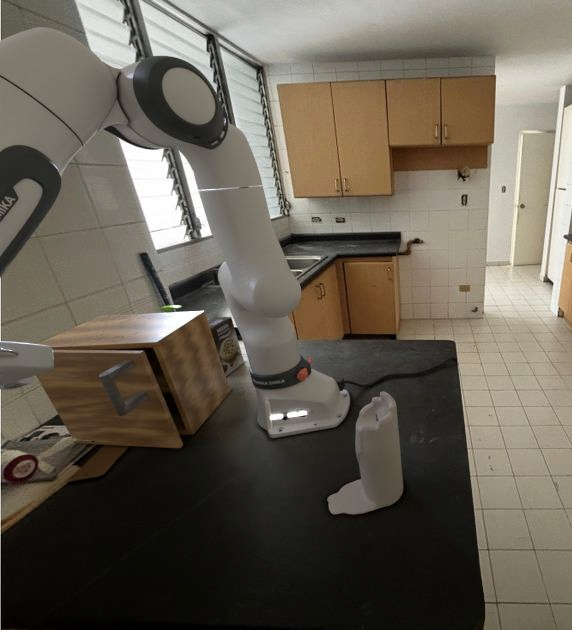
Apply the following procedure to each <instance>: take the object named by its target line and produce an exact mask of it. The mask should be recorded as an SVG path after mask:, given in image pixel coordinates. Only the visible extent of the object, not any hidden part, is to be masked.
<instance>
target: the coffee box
mask: <svg viewBox="0 0 572 630" xmlns="http://www.w3.org/2000/svg"><path fill="white" fill-rule="evenodd" d="M207 320H208V323H209V326H210V329H211V333H212V336H213V339H214V342H215V345H216V348H217V351H218V354H219V358H220V361H221V364H222V367H223V370H224V373H225V376H226V377H227V376H229V375H230V374H231V373H233V372H234V371H235V370H236V369H239V367H240V366H242V365H243V364H244V363H245V360H244V357H243V353H242V350H241V346H240V343H239V339H238V336H237V332H236V328H235V325H234V322H233V321H234V320H233V316H232V317H231V316H214V317H212V318H210V319H207Z"/></svg>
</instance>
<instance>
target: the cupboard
mask: <svg viewBox="0 0 572 630" xmlns="http://www.w3.org/2000/svg"><path fill="white" fill-rule="evenodd" d="M208 320H209V319H208V316H207V314H206V311H205V310H194V311H193V310H192V311H172V312H168V313H165V312H151V313H150V312H147V313H129V314H127V313H126V314H107V315H105V314H104V315H98V316H96V317H93V318H92V319H89V320H88V321H85V322H83V323H80V324H78V325H76V326H74V327H72V328H70V329H68V330H65V331H63V332H61V333H58V334H57V335H54V336H52V337H50V338H47V339H46V340H43V341H41V342H39V343H38V344H39V345H46V346H49V347H51V348H52V350H113V351H144V352H145V354H146V357H147V359H148V361H149V364H150V366H151V369H152V371H153V373H154V376H155V378H156V381H157V383H158V385H159V388H160V390H161V393H162V395H163V397H164V400H165V402H166V405H167V407H168V409H169V412H170V414H171V416H172V419H173V421H174V424H175V426H176V428H177V431H178V433H179V436H188V435H189V436H192V435H194V434H195V433H196V432H197V431H198V430H199V429H200V427H201V426H202V425H203V424H204V423H205V421H206V420H207V419H208V418H209V417H210V416H211V415H212V413H213V412H214V411H215V410H216V409H217V408H218V407H219V406H220V404H221V403H222V402H223V400H225V399H226V397H227V396H228V394H230V393H231V389H230V386H229V382H228V380H227V376H225V373H224V370H223V367H222V364H221V361H220V358H219V354H218V351H217V348H216V345H215V342H214V339H213V336H212V333H211V329H210V326H209V323H208Z"/></svg>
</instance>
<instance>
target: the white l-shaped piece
mask: <svg viewBox="0 0 572 630" xmlns="http://www.w3.org/2000/svg"><path fill="white" fill-rule="evenodd" d="M354 440H355V444H354V445H355V455H356V461H357V462H358V466H359V474H360V479H356V480H354V481H352V482H349V483H346V484H345V485H343V486H342V487H341V488H340V489H339V490H338V492H336V493H332V494H331V495H329V496H328V497H327V499H326V501H327V502H328V511H329V512H330V513H331V514H332V515H339V514H347V515H361V514H362V515H363V514H366V513H369V512H373V511H375V510H378V509H381V508H384V507H385V508H386V507H389V506H392V505H393V504H395V503H396V502H398V501H399V499H400V498H402V497H401V496H402V495H403V492H404V477H403V469H402V468H403V467H402V456H401V455H402V453H401V443H400V442H401V441H400V431H399V421H398V408H397V402H396V400H395V399H394V397H393V396H392V395H391V394H390V393H388V392H386V391H380V393H379V396H374V397H372V398H371V402H370V403H368V404H366V405H364V406H363V407H362V408H361V409H360V411H359V414H358V417H357V420H356V422H355V439H354Z"/></svg>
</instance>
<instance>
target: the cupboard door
mask: <svg viewBox="0 0 572 630" xmlns="http://www.w3.org/2000/svg"><path fill="white" fill-rule="evenodd" d="M53 354H54V368H53V370H51V371H49V372H46V373H42V374H39V375H36V378H37V380H38V381H39V383H40V385H41V387H42V389H43V391H44V392H45V394H46V395H47V397H48V399H49V400H50V402H51V404H52V406H53V407H54V409H55V411H56V413H57V414H58V417H59V418H60V420H61V421H62V423H63V425H64V427H65V428H66V430H67V432H68V433H69V435H70V437H71V438H72V439H73V438H76V439H83V440H91V441H74V440H73V442H74V444H81V445H99V446H100V445H104V446H121V447H122V446H124V447H142V448H143V447H145V448H164V449H165V448H166V449H181V448H183V446H184V443H183V440H182V438H181V435H179V433H178V431H177V428H176V426H175V424H174V421H173V419H172V416H171V414H170V412H169V409H168V407H167V405H166V402H165V400H164V397H163V395H162V393H161V390H160V388H159V385H158V383H157V381H156V378H155V376H154V373H153V371H152V369H151V366H150V364H149V361H148V359H147V357H146V354H145V352H144V351H113V350H53ZM92 441H94V442H92Z"/></svg>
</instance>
